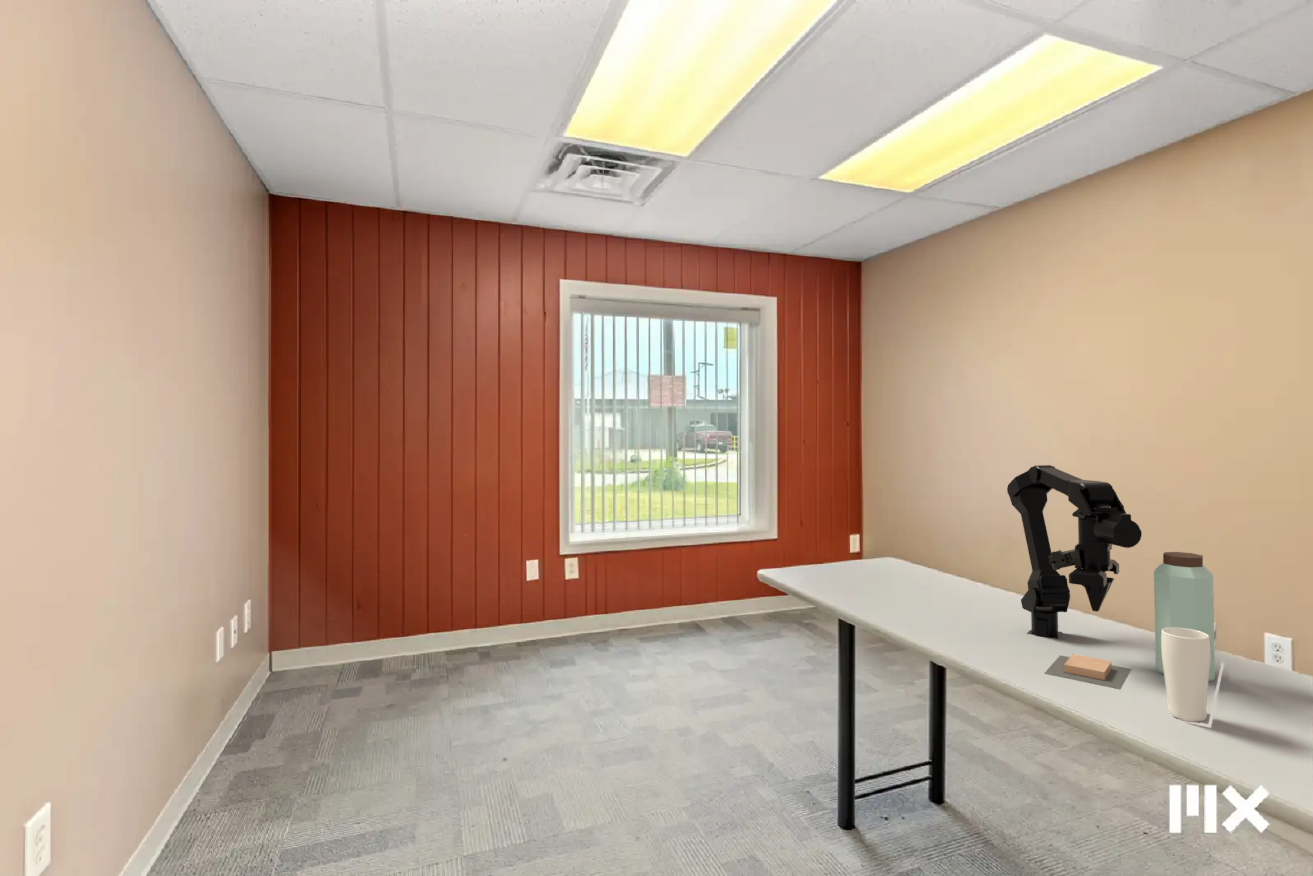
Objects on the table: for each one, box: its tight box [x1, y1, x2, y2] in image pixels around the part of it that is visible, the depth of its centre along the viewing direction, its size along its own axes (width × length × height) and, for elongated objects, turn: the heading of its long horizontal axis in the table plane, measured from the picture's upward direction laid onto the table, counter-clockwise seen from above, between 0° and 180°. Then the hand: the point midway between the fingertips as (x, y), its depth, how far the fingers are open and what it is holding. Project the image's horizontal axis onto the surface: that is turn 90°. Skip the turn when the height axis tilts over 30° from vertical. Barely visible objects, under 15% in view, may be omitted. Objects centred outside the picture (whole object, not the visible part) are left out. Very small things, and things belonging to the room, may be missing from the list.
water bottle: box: [1153, 551, 1216, 682], centre depth 133 cm, size 10×10×25 cm
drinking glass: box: [1161, 627, 1211, 723], centre depth 115 cm, size 7×7×15 cm
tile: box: [1064, 653, 1113, 680], centre depth 136 cm, size 2×7×8 cm
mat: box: [1043, 654, 1132, 690], centre depth 136 cm, size 14×13×1 cm
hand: (1095, 610), depth 142 cm, fingers closed
